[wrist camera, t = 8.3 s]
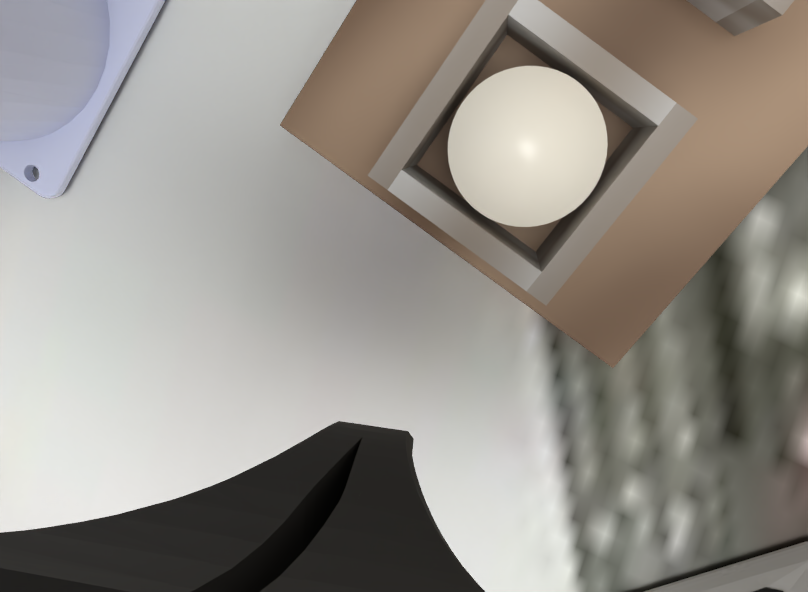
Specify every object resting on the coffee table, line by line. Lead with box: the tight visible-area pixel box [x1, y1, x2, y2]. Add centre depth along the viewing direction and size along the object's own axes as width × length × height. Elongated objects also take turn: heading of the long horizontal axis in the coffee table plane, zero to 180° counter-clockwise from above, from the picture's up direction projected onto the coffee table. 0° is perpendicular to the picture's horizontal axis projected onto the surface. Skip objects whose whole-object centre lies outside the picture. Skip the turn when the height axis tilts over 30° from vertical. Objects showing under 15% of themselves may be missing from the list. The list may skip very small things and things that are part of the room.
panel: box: [280, 0, 808, 368], centre depth 16 cm, size 12×15×4 cm
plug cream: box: [448, 66, 608, 227], centre depth 17 cm, size 4×4×3 cm
